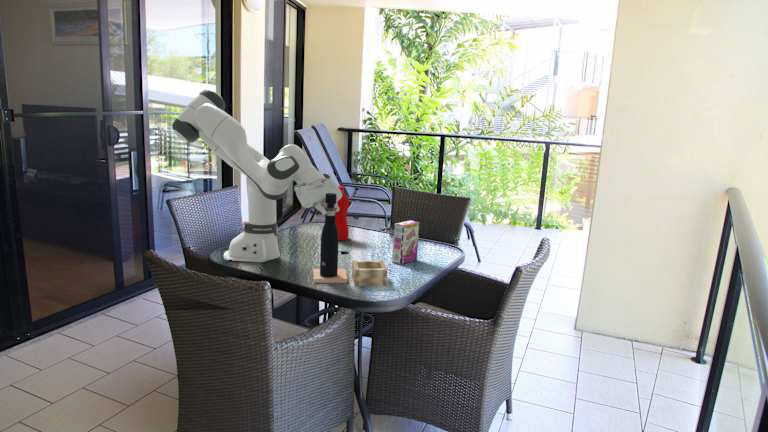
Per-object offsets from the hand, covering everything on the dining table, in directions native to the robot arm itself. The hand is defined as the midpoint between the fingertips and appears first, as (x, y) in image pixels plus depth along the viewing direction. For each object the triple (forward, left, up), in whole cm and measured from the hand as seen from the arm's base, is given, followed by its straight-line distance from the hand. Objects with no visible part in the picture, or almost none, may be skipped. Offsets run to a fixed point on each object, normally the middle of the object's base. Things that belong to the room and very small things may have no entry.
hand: (332, 212), depth 207 cm
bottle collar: (+14, -3, -25) cm, 28 cm away
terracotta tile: (0, +1, -25) cm, 25 cm away
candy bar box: (+32, +22, -25) cm, 46 cm away
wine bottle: (-1, -1, -23) cm, 23 cm away
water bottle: (+6, +59, -25) cm, 64 cm away
